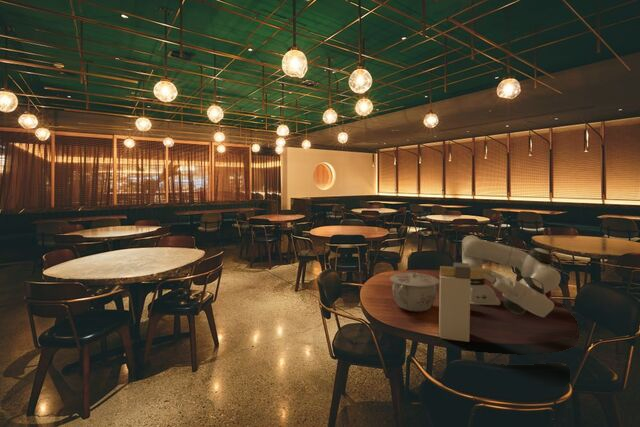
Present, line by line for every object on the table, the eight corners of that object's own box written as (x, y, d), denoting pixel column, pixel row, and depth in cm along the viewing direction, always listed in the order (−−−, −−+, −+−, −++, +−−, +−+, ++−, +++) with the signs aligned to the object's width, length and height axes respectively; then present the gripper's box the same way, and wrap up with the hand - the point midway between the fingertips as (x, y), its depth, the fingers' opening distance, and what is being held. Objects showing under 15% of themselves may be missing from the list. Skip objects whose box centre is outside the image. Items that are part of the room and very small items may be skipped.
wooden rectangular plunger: (490, 276, 137) (490, 268, 136) (492, 279, 133) (492, 271, 133) (440, 273, 143) (440, 265, 143) (440, 275, 140) (440, 267, 139)
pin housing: (466, 332, 144) (467, 262, 142) (469, 341, 135) (470, 267, 133) (439, 328, 148) (439, 261, 146) (440, 338, 138) (440, 266, 136)
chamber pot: (423, 298, 192) (424, 265, 191) (449, 314, 165) (450, 277, 164) (381, 301, 187) (381, 267, 186) (400, 319, 160) (401, 280, 159)
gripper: (514, 303, 123) (482, 284, 127) (502, 288, 143) (474, 272, 146) (524, 291, 122) (490, 272, 125) (510, 277, 141) (481, 261, 145)
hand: (481, 272), depth 136 cm, fingers closed on wooden rectangular plunger, 4 cm apart
